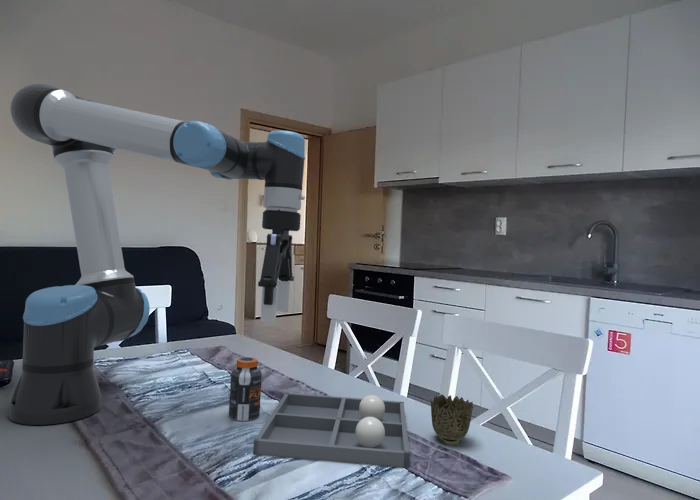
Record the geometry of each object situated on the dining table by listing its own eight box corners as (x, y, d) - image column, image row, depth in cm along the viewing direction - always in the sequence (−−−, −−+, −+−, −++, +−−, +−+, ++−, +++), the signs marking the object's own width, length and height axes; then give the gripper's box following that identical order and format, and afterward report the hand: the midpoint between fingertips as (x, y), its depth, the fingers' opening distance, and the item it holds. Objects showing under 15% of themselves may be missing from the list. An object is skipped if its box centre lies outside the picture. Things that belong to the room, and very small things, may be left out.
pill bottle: (252, 423, 92) (255, 364, 91) (223, 419, 93) (226, 360, 92) (264, 412, 97) (266, 356, 97) (236, 409, 99) (239, 353, 98)
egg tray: (252, 460, 76) (254, 440, 76) (284, 408, 101) (285, 392, 101) (408, 474, 75) (409, 453, 75) (402, 417, 99) (403, 401, 99)
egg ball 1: (357, 425, 91) (359, 398, 91) (359, 415, 96) (360, 390, 96) (384, 427, 90) (385, 400, 90) (384, 417, 95) (385, 392, 95)
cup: (462, 458, 81) (465, 411, 81) (421, 446, 85) (424, 401, 85) (476, 444, 87) (478, 400, 87) (437, 433, 91) (440, 391, 91)
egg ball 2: (353, 452, 79) (355, 421, 79) (355, 439, 84) (356, 411, 84) (384, 454, 79) (385, 424, 79) (384, 442, 84) (385, 413, 84)
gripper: (290, 207, 84) (282, 328, 85) (309, 215, 109) (302, 308, 110) (247, 204, 85) (239, 325, 85) (276, 213, 110) (270, 306, 110)
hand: (275, 316), depth 97 cm, fingers open, 13 cm apart
